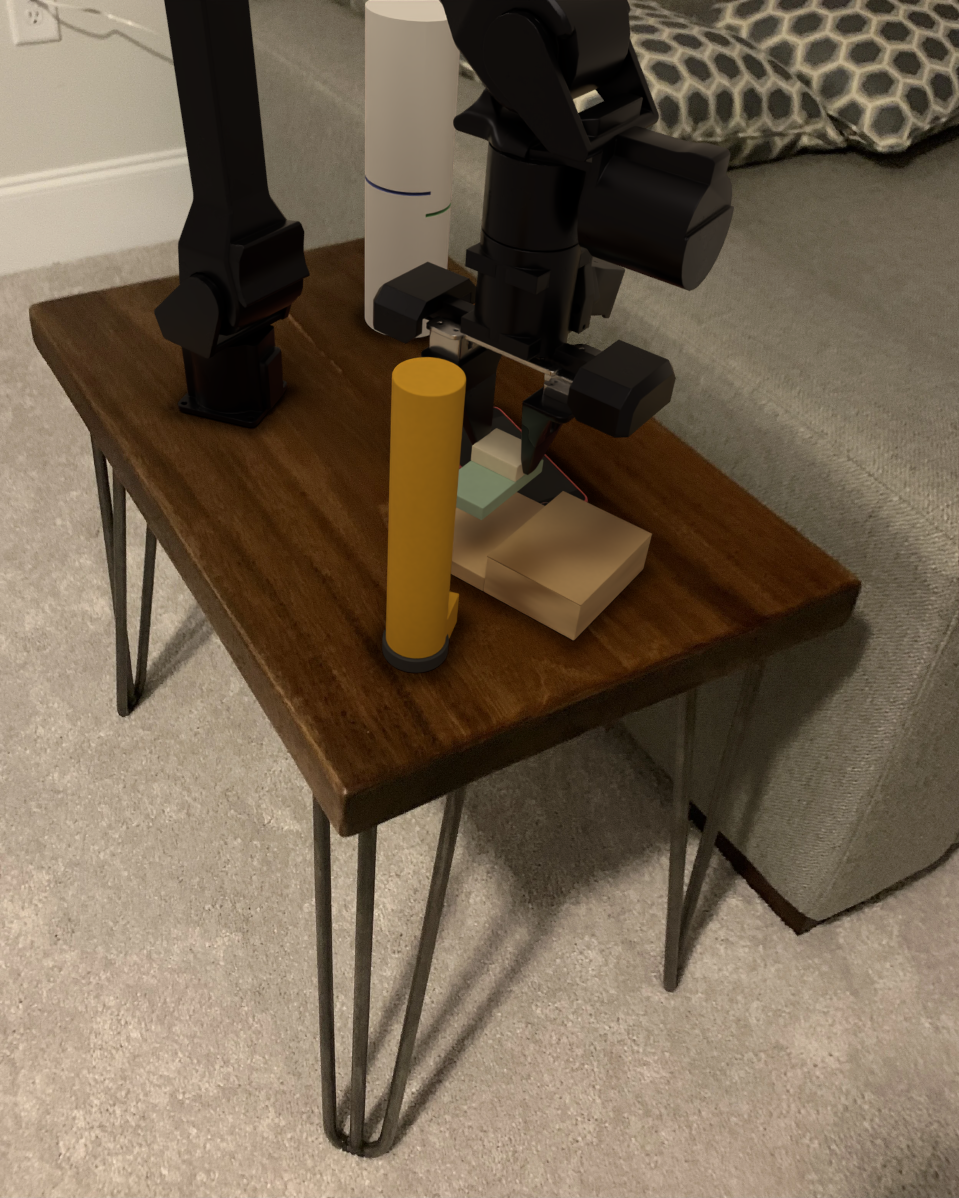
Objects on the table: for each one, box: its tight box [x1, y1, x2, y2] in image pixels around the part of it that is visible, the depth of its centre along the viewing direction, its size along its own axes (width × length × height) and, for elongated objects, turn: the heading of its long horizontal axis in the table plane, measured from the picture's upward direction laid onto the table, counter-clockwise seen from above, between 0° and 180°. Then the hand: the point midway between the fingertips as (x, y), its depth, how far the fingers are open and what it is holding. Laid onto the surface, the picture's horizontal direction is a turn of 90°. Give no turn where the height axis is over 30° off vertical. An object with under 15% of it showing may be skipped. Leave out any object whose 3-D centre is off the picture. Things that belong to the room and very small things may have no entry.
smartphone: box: [459, 406, 589, 506], centre depth 78 cm, size 7×1×14 cm
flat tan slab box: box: [451, 491, 653, 641], centre depth 69 cm, size 13×9×3 cm
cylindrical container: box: [364, 0, 461, 339], centre depth 85 cm, size 7×7×25 cm
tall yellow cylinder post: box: [381, 356, 466, 674], centre depth 57 cm, size 5×4×19 cm
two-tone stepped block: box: [456, 428, 543, 520], centre depth 68 cm, size 7×4×2 cm, turn 144°
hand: (505, 459), depth 68 cm, fingers closed on two-tone stepped block, 3 cm apart
